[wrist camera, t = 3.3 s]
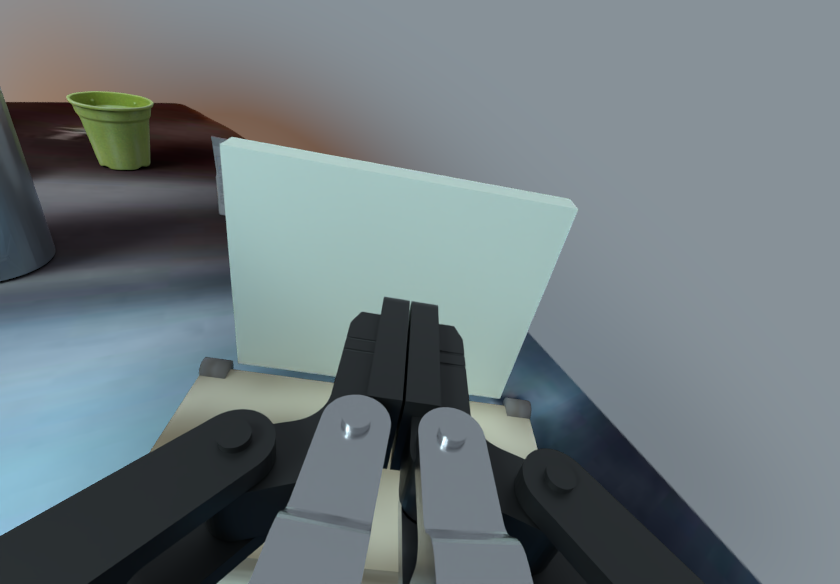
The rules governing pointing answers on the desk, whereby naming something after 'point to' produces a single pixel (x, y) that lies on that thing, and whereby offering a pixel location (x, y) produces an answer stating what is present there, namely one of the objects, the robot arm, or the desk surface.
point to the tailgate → (380, 256)
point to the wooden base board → (304, 398)
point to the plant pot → (116, 127)
